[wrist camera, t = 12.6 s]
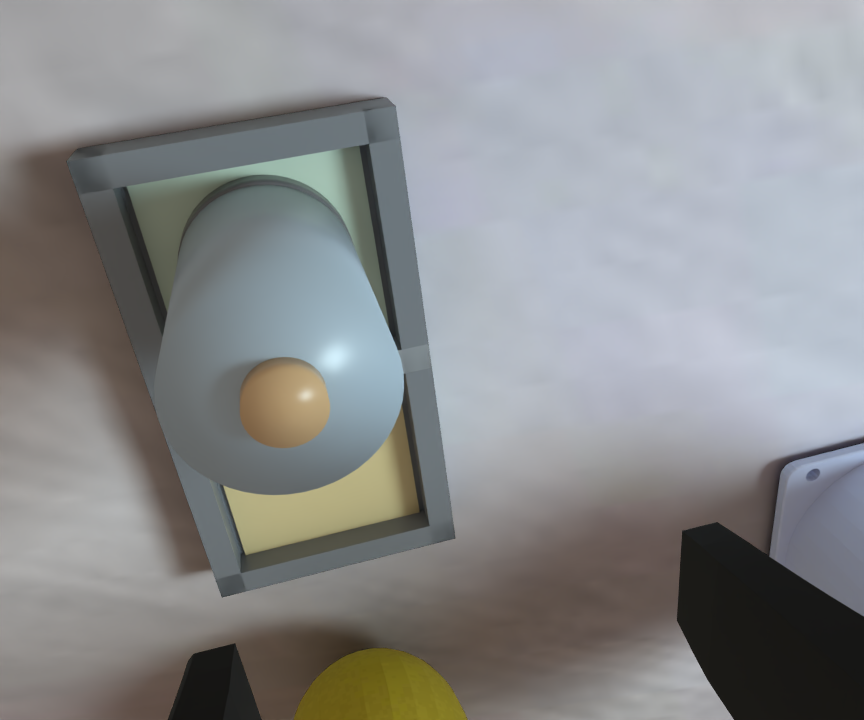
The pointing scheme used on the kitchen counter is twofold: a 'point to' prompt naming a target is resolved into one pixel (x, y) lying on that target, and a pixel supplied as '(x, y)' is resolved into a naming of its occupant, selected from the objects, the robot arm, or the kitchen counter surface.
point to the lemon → (379, 690)
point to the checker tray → (390, 281)
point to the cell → (274, 343)
